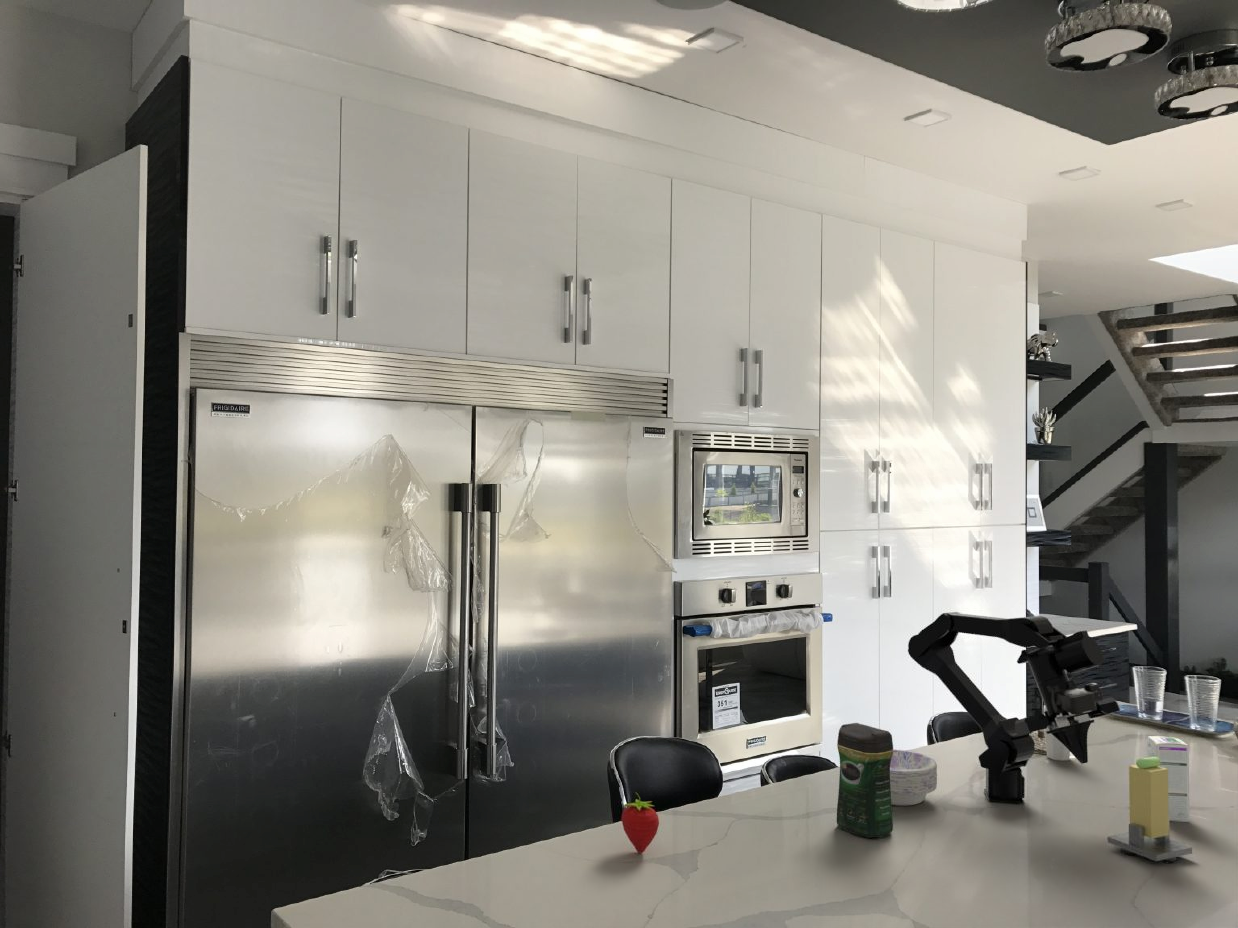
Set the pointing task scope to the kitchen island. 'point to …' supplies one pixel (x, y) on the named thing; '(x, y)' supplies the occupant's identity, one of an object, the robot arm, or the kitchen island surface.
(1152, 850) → the base
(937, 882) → the kitchen island surface
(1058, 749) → the faceted bottle
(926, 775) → the paper bowls
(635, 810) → the strawberry
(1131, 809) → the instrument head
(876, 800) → the coffee jar
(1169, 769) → the syrup box
